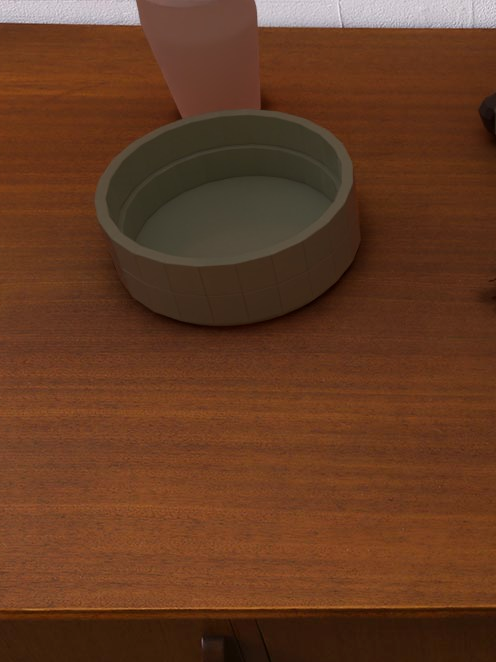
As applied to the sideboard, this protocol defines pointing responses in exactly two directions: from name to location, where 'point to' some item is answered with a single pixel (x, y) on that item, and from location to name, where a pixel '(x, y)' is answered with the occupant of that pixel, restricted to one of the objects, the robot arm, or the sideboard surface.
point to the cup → (205, 52)
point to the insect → (491, 281)
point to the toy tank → (489, 114)
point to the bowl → (230, 216)
